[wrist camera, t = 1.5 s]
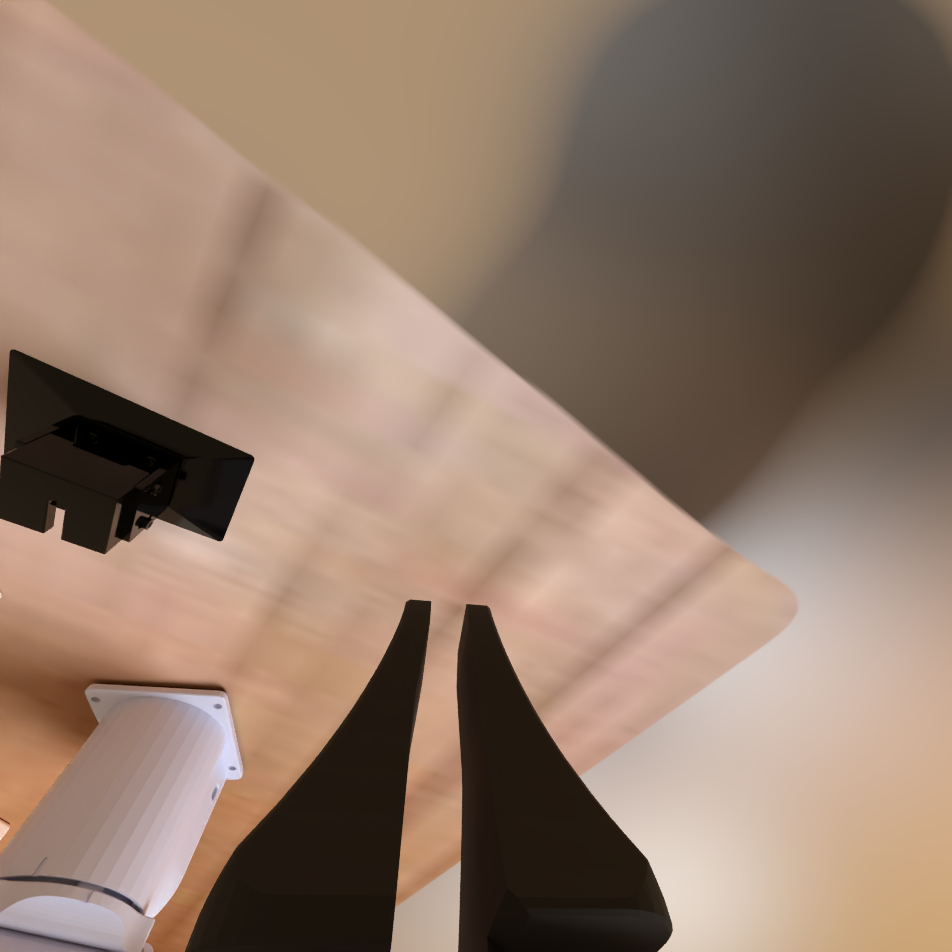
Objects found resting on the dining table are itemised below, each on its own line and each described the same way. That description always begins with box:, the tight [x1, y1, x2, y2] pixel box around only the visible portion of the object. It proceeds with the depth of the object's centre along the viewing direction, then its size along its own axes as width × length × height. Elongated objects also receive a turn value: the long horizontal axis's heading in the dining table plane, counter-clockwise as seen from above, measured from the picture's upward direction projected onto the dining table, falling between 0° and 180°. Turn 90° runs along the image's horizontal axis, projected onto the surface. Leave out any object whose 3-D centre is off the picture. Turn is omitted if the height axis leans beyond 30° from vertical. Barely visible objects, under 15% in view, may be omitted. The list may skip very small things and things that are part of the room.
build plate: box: [0, 350, 254, 554], centre depth 17 cm, size 12×7×5 cm, turn 60°
